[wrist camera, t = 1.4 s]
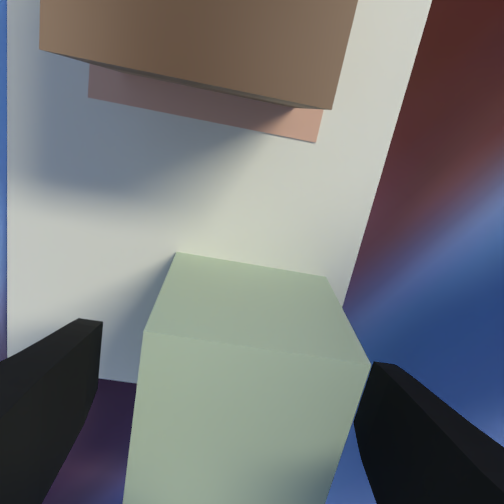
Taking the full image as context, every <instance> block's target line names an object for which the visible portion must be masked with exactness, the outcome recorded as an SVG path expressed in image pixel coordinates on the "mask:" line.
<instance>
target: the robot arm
mask: <svg viewBox="0 0 504 504" xmlns="http://www.w3.org/2000/svg"><path fill="white" fill-rule="evenodd" d="M102 330H103V322H102V321H96V320H89V319H82V318H78V319H76V320H74V321H72V322H70V323H69V324H67V325H65V326H64V327H62V328H60V329H58V330H57V331H55V332H53V333H52V334H50V335H48V336H46V337H45V338H43V339H41V340H39V341H38V342H36V343H34V344H32V345H31V346H29V347H27V348H25V349H24V350H22V351H20V352H18V353H16V354H14V355H12V356H10V357H9V358H7V359H5V360H3V361H1V362H0V504H42V502H43V500H44V498H45V496H46V495H47V493H48V491H49V489H50V487H51V485H52V483H53V482H54V480H55V478H56V476H57V474H58V472H59V470H60V468H61V467H62V465H63V463H64V461H65V459H66V457H67V455H68V454H69V452H70V450H71V448H72V446H73V444H74V442H75V440H76V438H77V436H78V435H79V433H80V431H81V429H82V427H83V425H84V423H85V420H86V418H87V415H88V412H89V410H90V407H91V405H92V402H93V399H94V397H95V394H96V391H97V389H98V377H99V366H100V354H101V342H102ZM354 427H355V433H356V438H357V443H358V447H359V452H360V456H361V460H362V463H363V466H364V469H365V472H366V474H367V477H368V480H369V483H370V486H371V489H372V492H373V494H374V497H375V500H376V503H377V504H504V447H503V446H501V445H500V444H498V443H497V442H496V441H494V440H493V439H492V438H490V437H489V436H487V435H486V434H485V433H483V432H482V431H481V430H479V429H478V428H477V427H475V426H474V425H473V424H471V423H470V422H469V421H467V420H466V419H465V418H464V417H462V416H461V415H460V414H458V413H457V412H456V411H455V410H453V409H452V408H451V407H450V406H448V405H447V404H446V403H445V402H443V401H442V400H441V399H440V398H438V397H437V396H436V395H435V394H433V393H432V392H431V391H430V390H429V389H427V388H426V387H425V386H424V385H422V384H421V383H420V382H419V381H417V380H416V379H415V378H413V377H412V376H411V375H410V374H408V373H407V372H405V371H404V370H403V369H401V368H400V367H398V366H397V365H395V364H388V363H381V362H373V365H372V368H371V371H370V374H369V377H368V380H367V383H366V386H365V389H364V392H363V395H362V398H361V401H360V404H359V407H358V410H357V413H356V416H355V419H354Z"/></svg>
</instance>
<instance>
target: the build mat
mask: <svg viewBox="0 0 504 504" xmlns="http://www.w3.org/2000/svg"><path fill="white" fill-rule="evenodd" d="M431 2H432V0H358V3H357V7H356V11H355V15H354V20H353V24H352V28H351V32H350V36H349V40H348V44H347V49H346V53H345V57H344V61H343V65H342V69H341V73H340V77H339V82H338V86H337V90H336V94H335V98H334V102H333V106H332V110H323V109H304V108H293V107H288V106H283V105H278V104H273V103H268V102H263V101H259V100H254V99H249V98H244V97H239V96H234V95H229V94H224V93H220V92H215V91H210V90H205V89H200V88H195V87H190V86H186V85H181V84H176V83H171V82H166V81H161V80H156V79H152V78H147V77H142V76H137V75H132V74H127V73H122V72H118V71H115V70H111V69H107V68H104V67H100V66H97V65H93V64H90V63H86V62H82V61H79V60H75V59H72V58H68V57H64V56H61V55H57V54H54V53H50V52H46V51H43V50H39V26H40V0H7V358H9V357H10V356H12V355H14V354H16V353H18V352H20V351H22V350H24V349H25V348H27V347H29V346H31V345H32V344H34V343H36V342H38V341H39V340H41V339H43V338H45V337H46V336H48V335H50V334H52V333H53V332H55V331H57V330H58V329H60V328H62V327H64V326H65V325H67V324H69V323H70V322H72V321H74V320H76V319H78V318H82V319H89V320H96V321H102V322H103V330H102V342H101V354H100V366H99V377H98V378H100V379H108V380H115V381H122V382H130V383H137V381H138V373H139V364H140V356H141V348H142V340H143V331H144V329H145V326H146V324H147V322H148V319H149V317H150V314H151V312H152V310H153V307H154V305H155V302H156V300H157V298H158V295H159V293H160V290H161V288H162V286H163V283H164V281H165V278H166V276H167V274H168V271H169V269H170V266H171V264H172V262H173V259H174V257H175V254H176V252H181V253H187V254H193V255H199V256H205V257H211V258H217V259H223V260H229V261H235V262H241V263H247V264H253V265H259V266H265V267H271V268H277V269H283V270H288V271H294V272H300V273H306V274H312V275H318V276H324V277H326V278H327V280H328V282H329V284H330V286H331V287H332V289H333V291H334V293H335V295H336V297H337V299H338V301H339V303H340V305H341V307H342V306H343V303H344V300H345V296H346V293H347V289H348V286H349V282H350V279H351V276H352V272H353V269H354V265H355V262H356V259H357V255H358V252H359V248H360V245H361V241H362V238H363V235H364V231H365V228H366V224H367V221H368V218H369V214H370V211H371V207H372V204H373V200H374V197H375V194H376V190H377V187H378V183H379V180H380V177H381V173H382V170H383V166H384V163H385V159H386V156H387V153H388V149H389V146H390V142H391V139H392V135H393V132H394V129H395V125H396V122H397V118H398V115H399V112H400V108H401V105H402V101H403V98H404V94H405V91H406V88H407V84H408V81H409V77H410V74H411V71H412V67H413V64H414V60H415V57H416V53H417V50H418V47H419V43H420V40H421V36H422V33H423V30H424V26H425V23H426V19H427V16H428V12H429V9H430V6H431Z"/></svg>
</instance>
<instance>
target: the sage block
mask: <svg viewBox="0 0 504 504" xmlns="http://www.w3.org/2000/svg"><path fill="white" fill-rule="evenodd" d="M370 368H371V363H370V361H369V360H368V358H367V356H366V354H365V352H364V350H363V348H362V346H361V344H360V342H359V340H358V338H357V336H356V334H355V332H354V330H353V328H352V326H351V324H350V323H349V321H348V319H347V317H346V315H345V313H344V311H343V309H342V307H341V305H340V303H339V301H338V299H337V297H336V295H335V293H334V291H333V289H332V287H331V286H330V284H329V282H328V280H327V278H326V277H324V276H318V275H312V274H306V273H300V272H294V271H288V270H283V269H277V268H271V267H265V266H259V265H253V264H247V263H241V262H235V261H229V260H223V259H217V258H211V257H205V256H199V255H193V254H187V253H181V252H176V254H175V257H174V259H173V262H172V264H171V266H170V269H169V271H168V274H167V276H166V278H165V281H164V283H163V286H162V288H161V290H160V293H159V295H158V298H157V300H156V302H155V305H154V307H153V310H152V312H151V314H150V317H149V319H148V322H147V324H146V326H145V329H144V331H143V340H142V348H141V356H140V364H139V373H138V381H137V389H136V397H135V406H134V414H133V422H132V430H131V439H130V447H129V455H128V463H127V472H126V480H125V488H124V496H123V504H325V502H326V499H327V496H328V493H329V490H330V487H331V484H332V481H333V478H334V475H335V472H336V469H337V466H338V463H339V460H340V457H341V454H342V451H343V448H344V445H345V442H346V439H347V436H348V433H349V430H350V427H351V424H352V421H353V418H354V415H355V412H356V409H357V406H358V403H359V400H360V397H361V394H362V391H363V389H364V386H365V383H366V380H367V377H368V374H369V371H370Z"/></svg>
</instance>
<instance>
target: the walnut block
mask: <svg viewBox="0 0 504 504" xmlns="http://www.w3.org/2000/svg"><path fill="white" fill-rule="evenodd" d="M357 3H358V0H40V26H39V50H43V51H46V52H50V53H54V54H57V55H61V56H64V57H68V58H72V59H75V60H79V61H82V62H86V63H90V64H93V65H97V66H100V67H104V68H107V69H111V70H115V71H118V72H122V73H127V74H132V75H137V76H142V77H147V78H152V79H156V80H161V81H166V82H171V83H176V84H181V85H186V86H190V87H195V88H200V89H205V90H210V91H215V92H220V93H224V94H229V95H234V96H239V97H244V98H249V99H254V100H259V101H263V102H268V103H273V104H278V105H283V106H288V107H293V108H304V109H323V110H332V106H333V102H334V98H335V94H336V90H337V86H338V82H339V77H340V73H341V69H342V65H343V61H344V57H345V53H346V49H347V44H348V40H349V36H350V32H351V28H352V24H353V20H354V15H355V11H356V7H357Z"/></svg>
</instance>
